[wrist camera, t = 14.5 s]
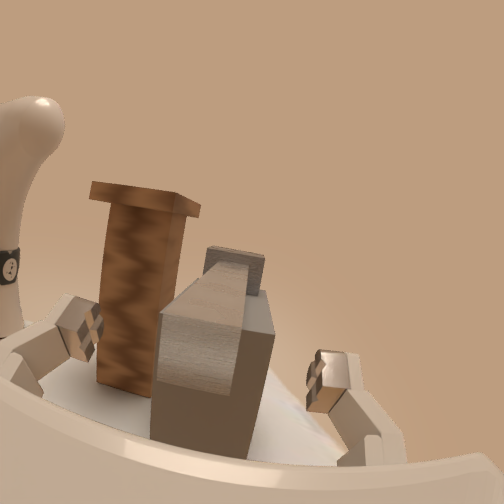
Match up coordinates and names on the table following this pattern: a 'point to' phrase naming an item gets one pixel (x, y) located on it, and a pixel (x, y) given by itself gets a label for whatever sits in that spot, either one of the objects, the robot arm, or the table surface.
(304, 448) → the table surface
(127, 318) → the brown wooden post
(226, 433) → the pedestal
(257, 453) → the table surface
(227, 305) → the link bar
